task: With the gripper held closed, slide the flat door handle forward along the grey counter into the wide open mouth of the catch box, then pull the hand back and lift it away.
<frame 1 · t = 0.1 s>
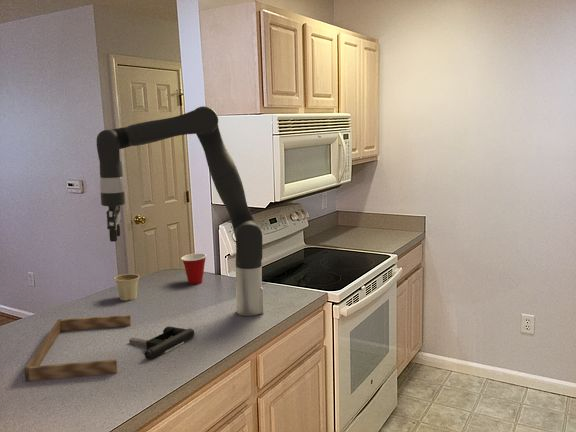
hand: (115, 238, 172), 29 cm above the worktop, tool pointing down, fingers open, 8 cm apart
door handle: (158, 345, 158), on the worktop
catch box: (86, 349, 154), on the worktop
plastic cup: (194, 283, 221), on the worktop
flower pot: (128, 298, 201), on the worktop
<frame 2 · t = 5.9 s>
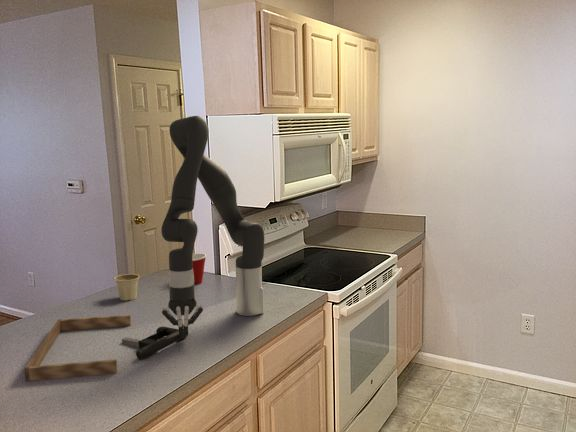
hand: (183, 336, 159), 2 cm above the worktop, tool pointing down, fingers closed
door handle: (150, 345, 158), on the worktop, touching gripper
everything else where it was.
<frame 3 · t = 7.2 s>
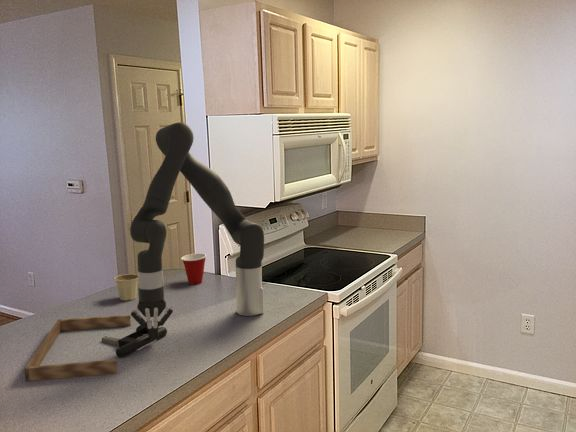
hand: (153, 338, 157), 2 cm above the worktop, tool pointing down, fingers closed
door handle: (130, 343, 160), on the worktop, touching gripper
everything else where it was.
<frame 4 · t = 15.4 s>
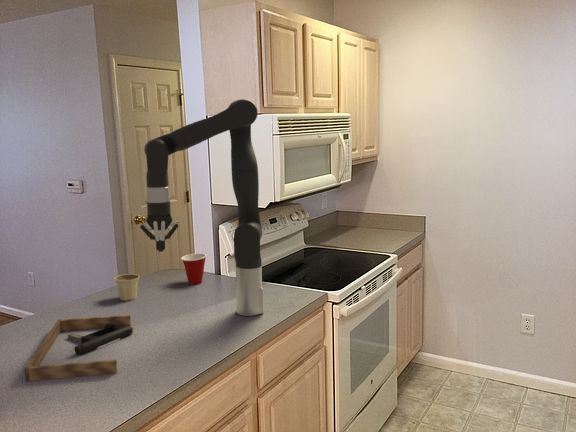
hand: (160, 251, 171), 25 cm above the worktop, tool pointing down, fingers closed
door handle: (95, 341, 161), on the worktop
everything else where it was.
at the end: door handle inside the target area on the catch box (8.3 cm from its centre), point -0.7 cm above the catch box's base; door handle moved 21.0 cm from its start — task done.
